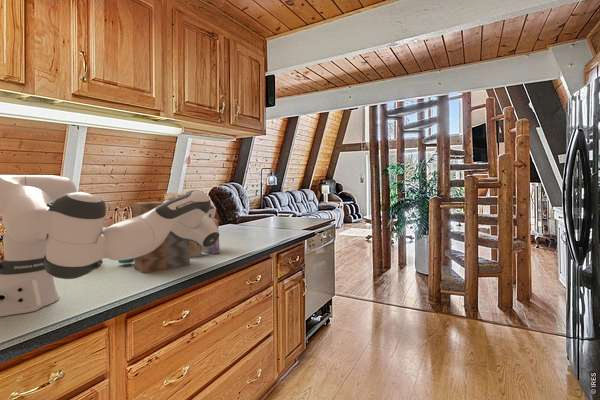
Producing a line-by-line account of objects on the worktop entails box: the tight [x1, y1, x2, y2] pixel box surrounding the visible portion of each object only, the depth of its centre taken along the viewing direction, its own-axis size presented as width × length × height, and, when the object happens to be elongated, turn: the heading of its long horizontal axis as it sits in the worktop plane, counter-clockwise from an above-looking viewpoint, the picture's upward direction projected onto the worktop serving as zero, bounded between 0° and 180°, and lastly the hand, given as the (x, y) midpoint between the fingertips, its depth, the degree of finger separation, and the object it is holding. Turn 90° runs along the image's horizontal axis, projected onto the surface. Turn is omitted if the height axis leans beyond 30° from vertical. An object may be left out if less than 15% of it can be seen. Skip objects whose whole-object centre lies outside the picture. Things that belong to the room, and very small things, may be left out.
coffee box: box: [189, 240, 203, 258], centre depth 166 cm, size 9×6×16 cm
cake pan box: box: [202, 218, 221, 255], centre depth 176 cm, size 19×5×18 cm, turn 48°
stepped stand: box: [132, 201, 191, 274], centre depth 145 cm, size 20×10×28 cm, turn 132°
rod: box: [163, 192, 186, 201], centre depth 146 cm, size 3×20×3 cm, turn 42°
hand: (182, 196), depth 141 cm, fingers closed on rod, 3 cm apart
